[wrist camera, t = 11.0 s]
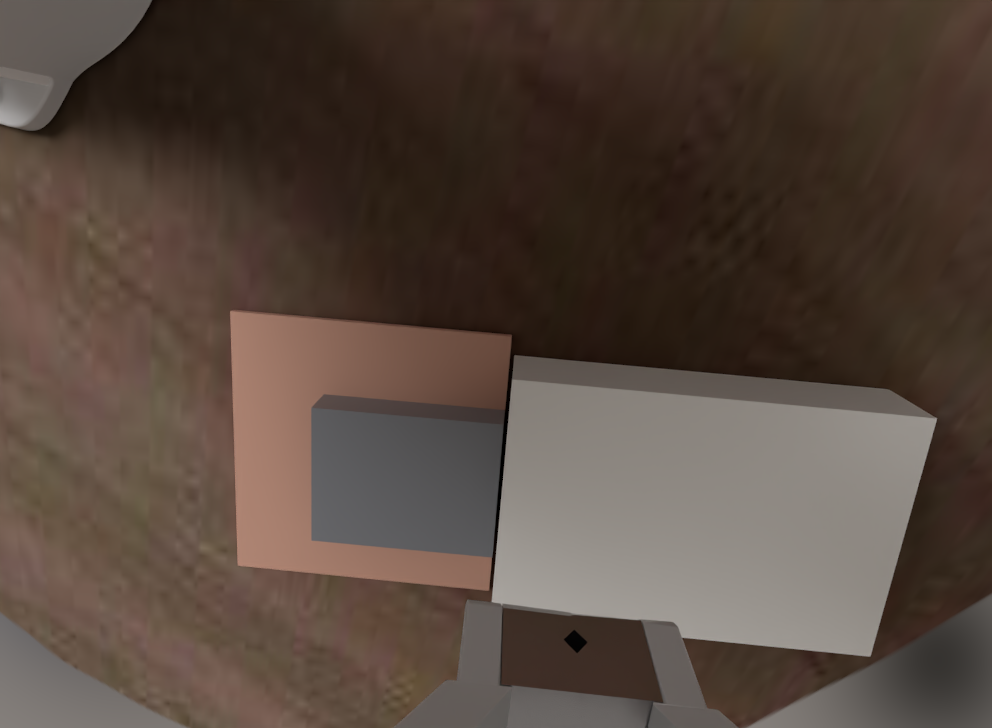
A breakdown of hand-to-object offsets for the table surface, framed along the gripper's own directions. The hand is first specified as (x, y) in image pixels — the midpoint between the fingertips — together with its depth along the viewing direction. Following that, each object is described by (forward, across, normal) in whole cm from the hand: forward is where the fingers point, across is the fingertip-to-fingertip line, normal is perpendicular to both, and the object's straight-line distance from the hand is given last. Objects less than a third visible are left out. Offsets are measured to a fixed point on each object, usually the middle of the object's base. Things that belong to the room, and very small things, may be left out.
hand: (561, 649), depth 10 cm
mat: (+23, +7, +8) cm, 26 cm away
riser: (+23, -9, +8) cm, 26 cm away
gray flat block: (+23, +5, +9) cm, 25 cm away
